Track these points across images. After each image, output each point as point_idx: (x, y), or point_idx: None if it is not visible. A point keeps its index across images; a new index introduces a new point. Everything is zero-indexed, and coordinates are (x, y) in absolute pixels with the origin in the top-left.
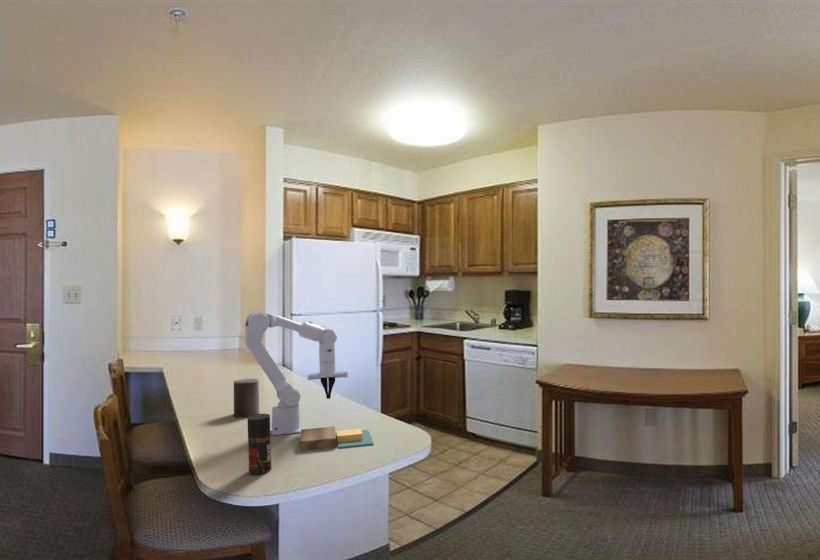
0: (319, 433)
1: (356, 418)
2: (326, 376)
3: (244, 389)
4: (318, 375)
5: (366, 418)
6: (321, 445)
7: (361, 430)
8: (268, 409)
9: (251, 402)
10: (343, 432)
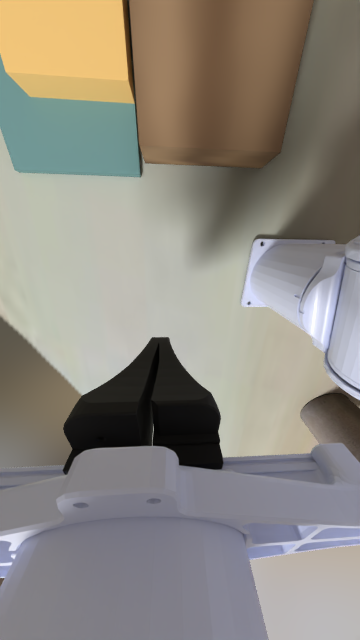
0: (215, 15)
1: (91, 328)
2: (151, 459)
3: None
4: (275, 505)
5: (61, 321)
6: None
7: (42, 169)
8: (279, 424)
9: (349, 426)
10: (88, 17)
